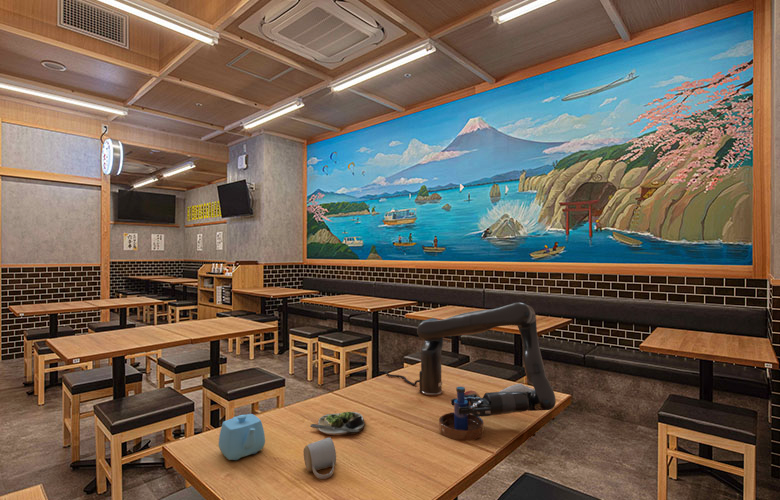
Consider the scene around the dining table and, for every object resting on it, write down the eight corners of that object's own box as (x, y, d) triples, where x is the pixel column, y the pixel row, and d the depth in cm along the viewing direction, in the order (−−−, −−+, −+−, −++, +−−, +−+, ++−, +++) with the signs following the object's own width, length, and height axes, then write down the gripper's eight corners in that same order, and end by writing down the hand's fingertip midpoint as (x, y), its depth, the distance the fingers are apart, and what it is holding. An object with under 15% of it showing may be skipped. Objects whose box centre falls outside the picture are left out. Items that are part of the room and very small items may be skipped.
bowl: (433, 436, 130) (432, 425, 130) (447, 419, 144) (447, 409, 144) (476, 446, 123) (476, 434, 123) (488, 428, 136) (488, 416, 136)
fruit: (468, 417, 146) (468, 396, 146) (457, 409, 153) (456, 389, 153) (484, 413, 149) (484, 392, 149) (473, 406, 156) (472, 386, 156)
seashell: (515, 420, 160) (539, 394, 158) (499, 409, 155) (524, 383, 153) (504, 405, 167) (527, 380, 166) (488, 395, 162) (512, 369, 161)
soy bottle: (452, 431, 132) (451, 389, 133) (456, 426, 136) (456, 384, 137) (465, 434, 130) (465, 391, 130) (469, 428, 134) (469, 386, 135)
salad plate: (309, 441, 128) (309, 427, 128) (311, 419, 145) (311, 407, 145) (366, 436, 131) (366, 422, 131) (361, 415, 149) (361, 403, 149)
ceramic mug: (302, 465, 113) (302, 439, 113) (328, 457, 117) (328, 432, 117) (312, 484, 104) (312, 456, 104) (341, 475, 108) (340, 448, 108)
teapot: (233, 472, 109) (233, 432, 110) (214, 449, 123) (214, 413, 123) (274, 457, 118) (274, 420, 118) (252, 437, 131) (251, 403, 131)
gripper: (490, 385, 143) (448, 388, 140) (508, 400, 129) (461, 403, 126) (491, 406, 143) (448, 409, 140) (508, 422, 128) (462, 426, 126)
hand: (455, 406), depth 133 cm, fingers open, 7 cm apart
